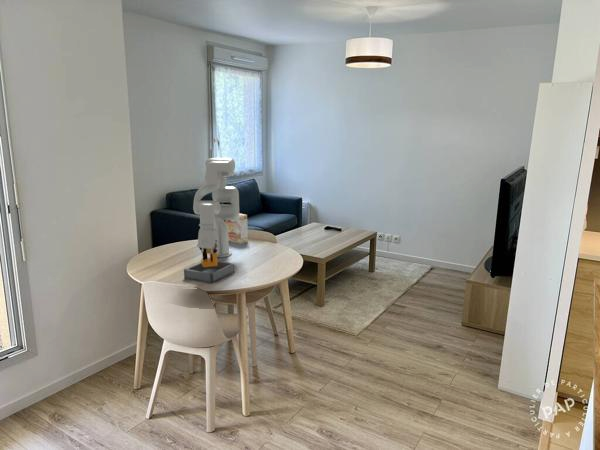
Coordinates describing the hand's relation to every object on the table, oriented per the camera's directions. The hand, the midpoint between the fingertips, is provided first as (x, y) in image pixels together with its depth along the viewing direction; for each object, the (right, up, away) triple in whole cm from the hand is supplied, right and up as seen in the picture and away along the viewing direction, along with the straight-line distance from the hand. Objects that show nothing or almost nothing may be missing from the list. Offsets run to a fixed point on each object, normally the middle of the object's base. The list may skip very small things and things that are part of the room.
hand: (209, 259), depth 236 cm
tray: (0, -9, +2) cm, 9 cm away
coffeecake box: (+5, +7, +73) cm, 73 cm away
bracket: (0, -3, +1) cm, 3 cm away
